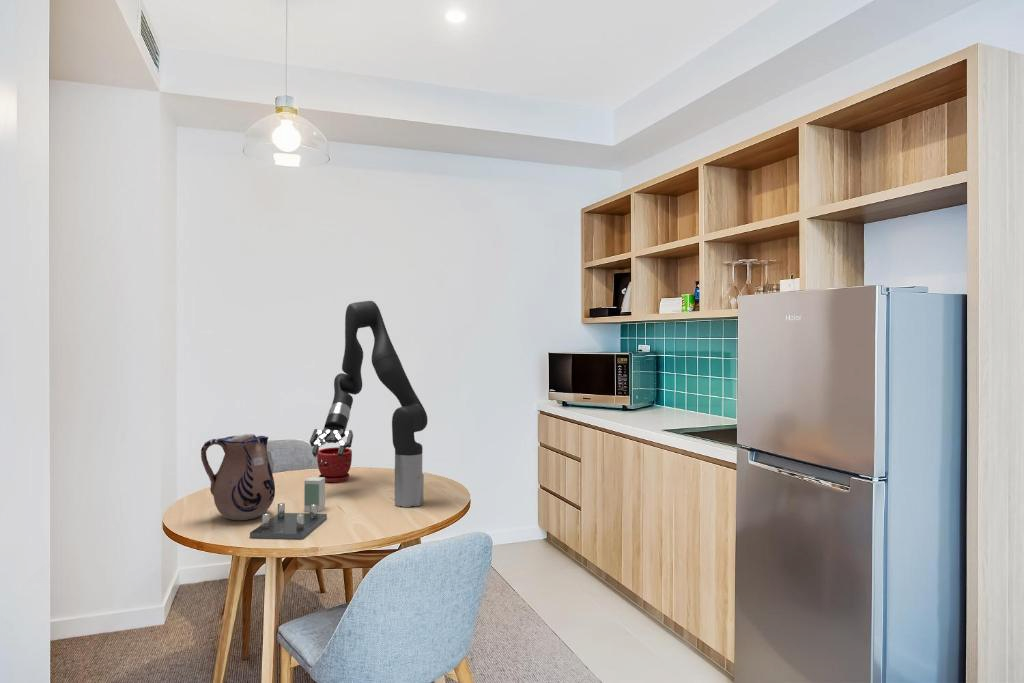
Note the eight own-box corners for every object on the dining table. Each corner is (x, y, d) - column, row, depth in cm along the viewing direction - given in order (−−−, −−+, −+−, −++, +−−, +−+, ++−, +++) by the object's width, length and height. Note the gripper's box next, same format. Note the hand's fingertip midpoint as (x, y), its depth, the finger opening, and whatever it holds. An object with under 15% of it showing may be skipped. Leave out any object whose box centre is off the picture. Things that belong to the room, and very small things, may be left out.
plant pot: (310, 481, 245) (310, 450, 245) (336, 475, 256) (337, 446, 256) (332, 486, 238) (332, 454, 238) (358, 479, 249) (359, 449, 249)
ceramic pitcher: (279, 520, 193) (279, 438, 193) (202, 530, 183) (203, 444, 183) (270, 506, 209) (270, 431, 208) (199, 515, 198) (199, 435, 198)
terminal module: (324, 507, 208) (325, 477, 208) (319, 512, 203) (319, 481, 203) (309, 507, 208) (310, 477, 208) (303, 511, 203) (304, 480, 203)
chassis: (326, 518, 195) (326, 501, 195) (302, 539, 175) (302, 519, 175) (279, 517, 196) (279, 499, 196) (249, 538, 176) (249, 518, 176)
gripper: (316, 411, 226) (303, 449, 215) (355, 412, 226) (344, 450, 214) (321, 424, 232) (309, 461, 220) (359, 425, 231) (349, 462, 220)
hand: (326, 455), depth 217 cm, fingers open, 8 cm apart
